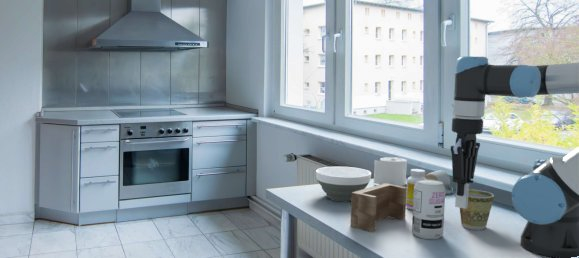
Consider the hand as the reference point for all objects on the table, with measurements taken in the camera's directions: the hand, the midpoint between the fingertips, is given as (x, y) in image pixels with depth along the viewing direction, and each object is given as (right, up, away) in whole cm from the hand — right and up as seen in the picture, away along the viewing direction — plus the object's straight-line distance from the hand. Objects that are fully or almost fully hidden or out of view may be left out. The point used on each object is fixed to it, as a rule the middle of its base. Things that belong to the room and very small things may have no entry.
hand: (461, 207), depth 130 cm
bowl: (-26, -4, +47) cm, 54 cm away
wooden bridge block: (-18, -7, +18) cm, 27 cm away
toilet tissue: (-4, -2, +71) cm, 71 cm away
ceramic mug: (+12, -4, +60) cm, 61 cm away
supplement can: (-7, -9, +7) cm, 14 cm away
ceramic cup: (+10, -8, +17) cm, 22 cm away
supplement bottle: (-3, -6, +35) cm, 35 cm away
